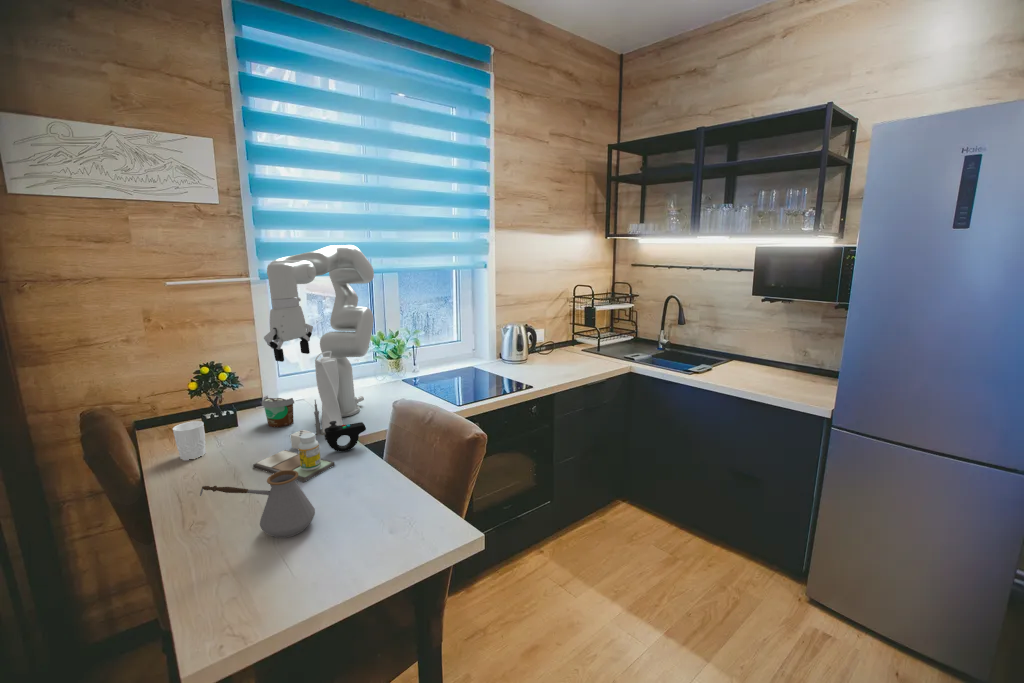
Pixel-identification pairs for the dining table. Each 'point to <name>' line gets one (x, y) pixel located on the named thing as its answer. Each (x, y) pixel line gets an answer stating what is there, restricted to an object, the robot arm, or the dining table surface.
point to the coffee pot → (280, 504)
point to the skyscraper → (327, 393)
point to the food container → (278, 411)
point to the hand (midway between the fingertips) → (293, 357)
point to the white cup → (190, 439)
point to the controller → (342, 430)
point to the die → (297, 438)
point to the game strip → (290, 465)
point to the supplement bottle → (309, 452)
